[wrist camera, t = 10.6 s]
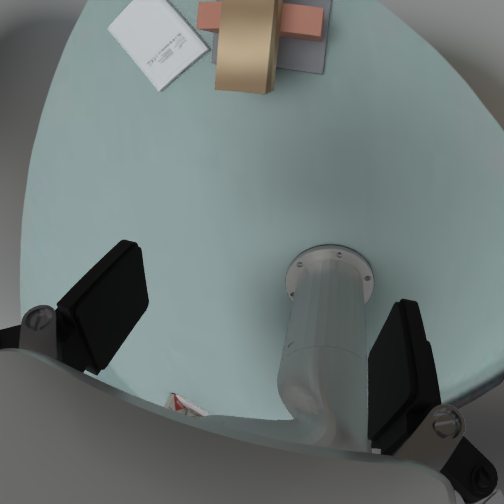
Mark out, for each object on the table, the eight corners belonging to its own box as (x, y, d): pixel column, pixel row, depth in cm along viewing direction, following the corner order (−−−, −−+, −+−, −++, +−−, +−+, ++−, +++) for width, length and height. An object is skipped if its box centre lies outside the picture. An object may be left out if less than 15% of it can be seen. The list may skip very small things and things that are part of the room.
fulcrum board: (322, 74, 28) (321, 75, 23) (214, 63, 30) (189, 64, 24) (331, -8, 23) (332, -26, 17) (221, -15, 24) (197, -30, 19)
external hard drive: (156, -14, 25) (212, 49, 30) (113, 29, 29) (163, 91, 34) (149, -16, 24) (207, 49, 28) (106, 28, 28) (157, 92, 32)
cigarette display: (228, 424, 80) (219, 452, 73) (216, 426, 83) (208, 452, 76) (174, 391, 75) (162, 419, 67) (164, 394, 78) (152, 421, 70)
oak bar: (273, 90, 24) (265, 94, 21) (229, 86, 25) (214, 89, 22) (287, -48, 16) (281, -64, 13) (242, -49, 17) (229, -63, 14)
